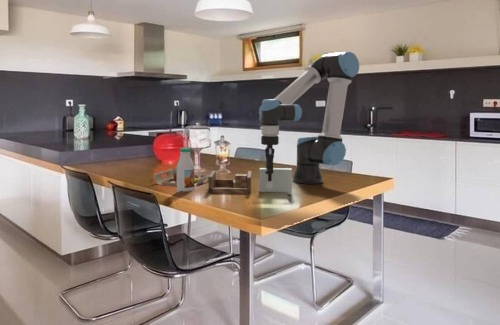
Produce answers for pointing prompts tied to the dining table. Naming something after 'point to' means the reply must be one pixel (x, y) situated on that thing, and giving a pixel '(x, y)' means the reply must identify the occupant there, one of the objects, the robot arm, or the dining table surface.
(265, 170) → the sheet
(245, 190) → the rack
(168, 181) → the toy food set
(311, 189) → the dining table surface
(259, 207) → the dining table surface
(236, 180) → the offcut
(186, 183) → the milk bottle
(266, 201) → the dining table surface
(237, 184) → the offcut
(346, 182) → the dining table surface
